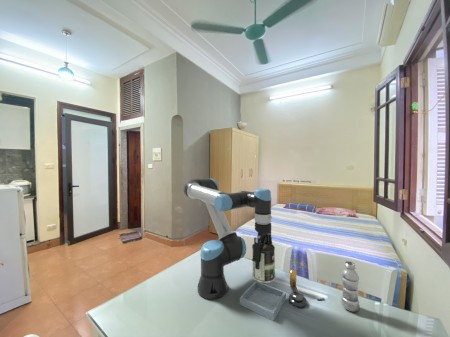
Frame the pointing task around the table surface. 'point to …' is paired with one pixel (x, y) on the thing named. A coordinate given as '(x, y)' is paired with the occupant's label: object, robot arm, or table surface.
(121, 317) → the table surface
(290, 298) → the crank base
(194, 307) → the table surface
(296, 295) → the crank
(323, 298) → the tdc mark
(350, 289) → the plastic bottle
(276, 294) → the tray
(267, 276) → the coffee can
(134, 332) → the table surface
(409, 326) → the table surface
